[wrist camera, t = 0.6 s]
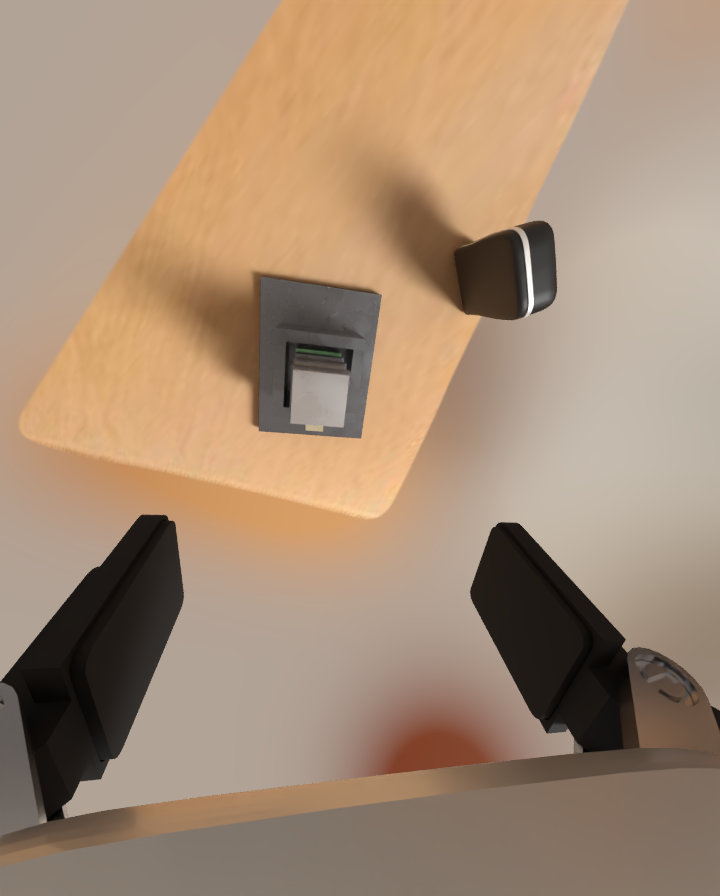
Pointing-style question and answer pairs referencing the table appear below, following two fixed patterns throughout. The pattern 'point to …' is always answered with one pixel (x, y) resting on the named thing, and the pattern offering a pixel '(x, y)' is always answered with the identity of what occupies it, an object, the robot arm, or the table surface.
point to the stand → (320, 326)
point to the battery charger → (508, 272)
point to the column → (318, 387)
